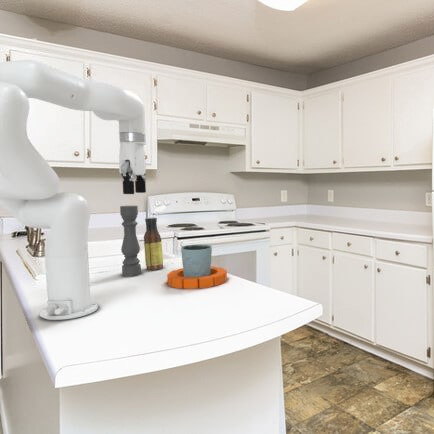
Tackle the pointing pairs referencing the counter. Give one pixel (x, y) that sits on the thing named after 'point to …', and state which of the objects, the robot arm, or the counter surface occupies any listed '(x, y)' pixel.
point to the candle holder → (130, 242)
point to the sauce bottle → (153, 245)
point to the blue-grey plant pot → (196, 260)
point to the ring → (196, 279)
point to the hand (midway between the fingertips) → (135, 193)
